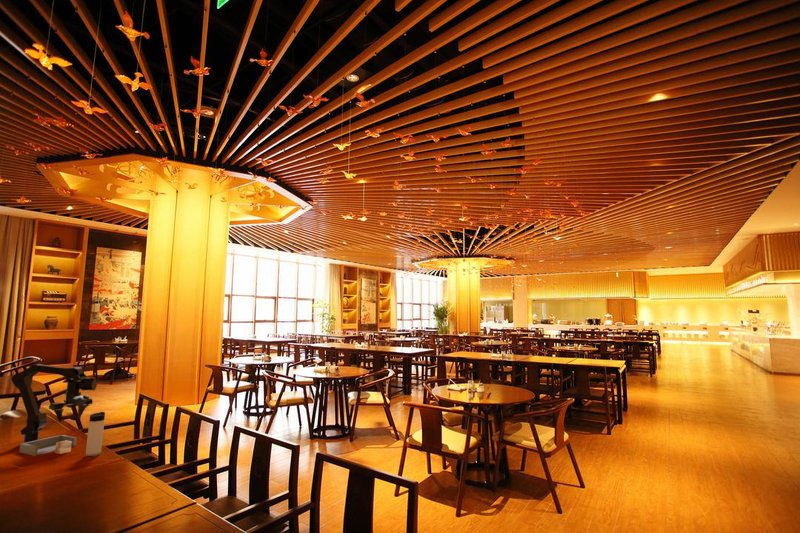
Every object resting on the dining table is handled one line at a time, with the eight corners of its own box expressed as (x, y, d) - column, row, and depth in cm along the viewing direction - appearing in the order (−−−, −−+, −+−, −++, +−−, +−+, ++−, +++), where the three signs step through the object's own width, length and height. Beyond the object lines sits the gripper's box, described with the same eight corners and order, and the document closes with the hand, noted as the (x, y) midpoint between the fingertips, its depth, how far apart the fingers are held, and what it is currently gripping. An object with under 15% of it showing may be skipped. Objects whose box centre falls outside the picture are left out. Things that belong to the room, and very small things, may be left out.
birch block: (55, 453, 206) (56, 442, 207) (65, 450, 210) (66, 440, 211) (60, 454, 204) (61, 443, 205) (70, 451, 208) (71, 441, 209)
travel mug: (104, 453, 208) (108, 412, 211) (93, 457, 202) (98, 414, 205) (93, 452, 209) (97, 411, 212) (82, 456, 203) (86, 414, 205)
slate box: (19, 453, 206) (20, 443, 207) (61, 443, 223) (62, 434, 224) (34, 456, 201) (35, 447, 202) (75, 446, 218) (76, 437, 219)
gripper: (62, 394, 216) (59, 425, 214) (100, 389, 233) (97, 417, 231) (50, 392, 220) (46, 423, 218) (87, 387, 237) (84, 415, 235)
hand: (69, 420), depth 225 cm, fingers open, 9 cm apart
